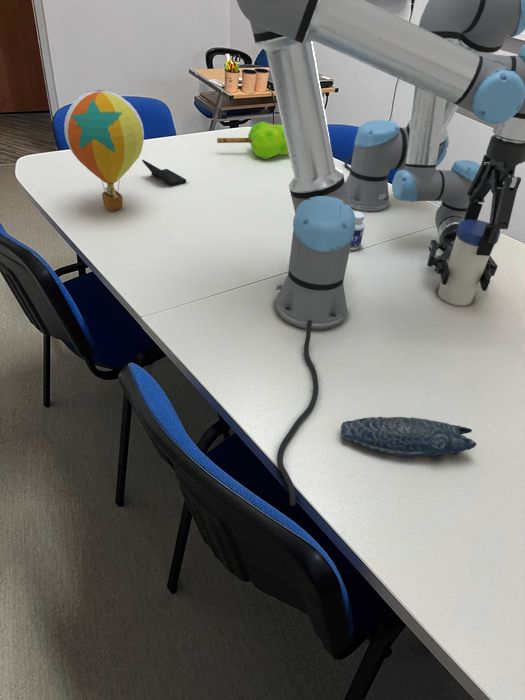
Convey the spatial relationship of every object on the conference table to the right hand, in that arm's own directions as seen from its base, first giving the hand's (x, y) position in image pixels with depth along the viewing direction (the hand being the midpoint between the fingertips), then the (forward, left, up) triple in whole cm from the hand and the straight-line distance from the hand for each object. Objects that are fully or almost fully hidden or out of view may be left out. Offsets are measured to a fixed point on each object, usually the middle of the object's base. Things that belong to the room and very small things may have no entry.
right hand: (466, 282), depth 114 cm
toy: (-60, -74, -6) cm, 95 cm away
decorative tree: (-103, -21, -6) cm, 105 cm away
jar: (-4, +2, -6) cm, 8 cm away
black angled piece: (-80, -57, -6) cm, 99 cm away
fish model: (+35, -32, -6) cm, 48 cm away
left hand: (-4, +2, +7) cm, 9 cm away
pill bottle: (-31, -14, -6) cm, 35 cm away
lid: (-4, +2, +11) cm, 12 cm away
